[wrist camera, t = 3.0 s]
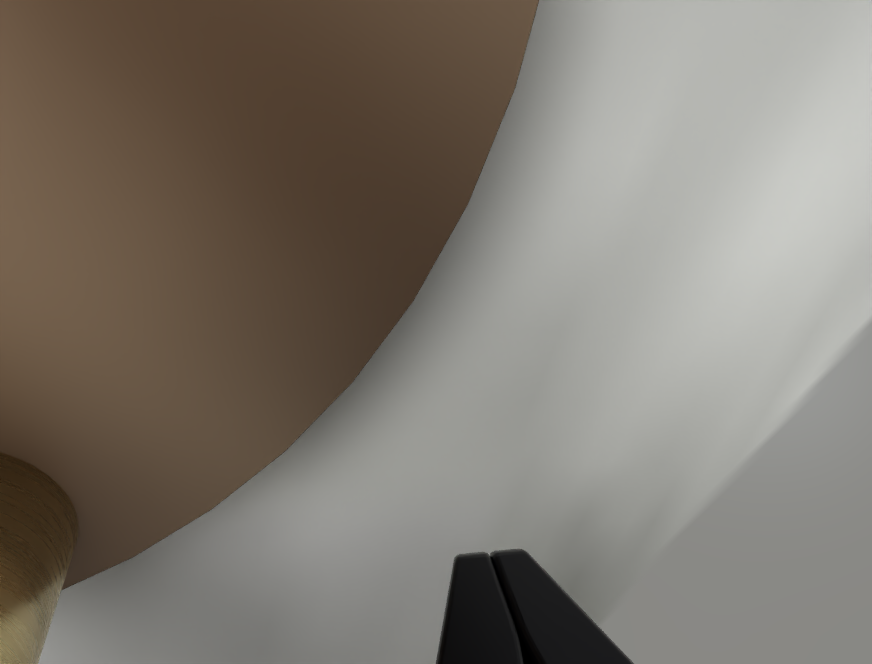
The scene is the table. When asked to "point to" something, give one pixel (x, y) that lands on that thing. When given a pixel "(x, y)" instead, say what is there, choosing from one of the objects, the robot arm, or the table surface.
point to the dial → (209, 245)
